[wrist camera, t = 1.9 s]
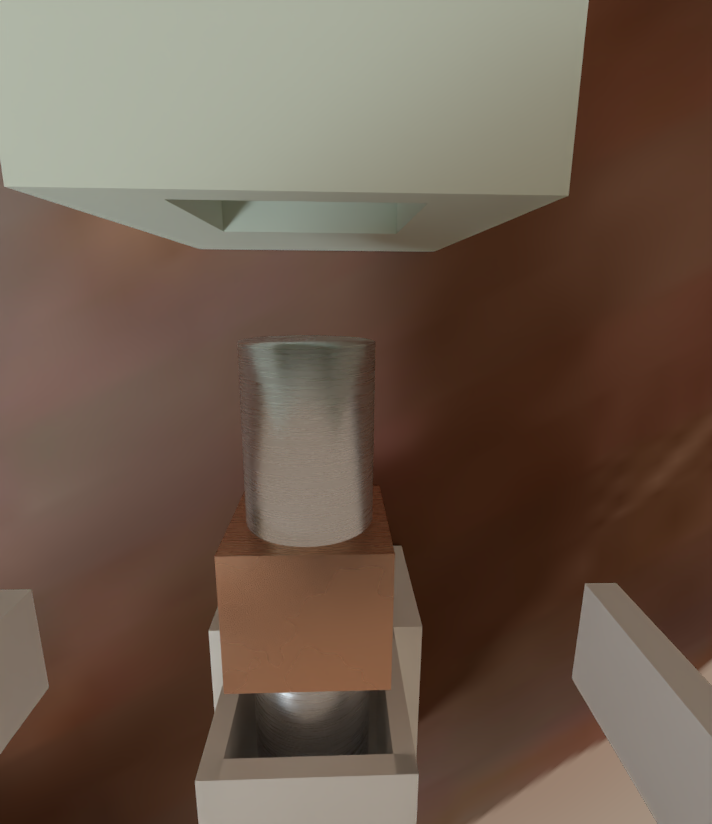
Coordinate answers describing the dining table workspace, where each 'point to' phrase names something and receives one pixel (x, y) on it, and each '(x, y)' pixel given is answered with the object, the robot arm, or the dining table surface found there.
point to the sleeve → (319, 775)
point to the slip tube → (307, 548)
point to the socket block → (293, 116)
